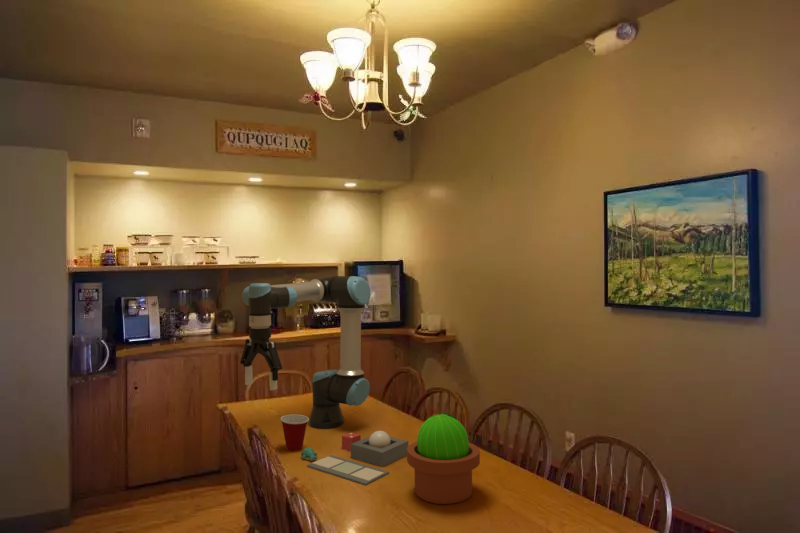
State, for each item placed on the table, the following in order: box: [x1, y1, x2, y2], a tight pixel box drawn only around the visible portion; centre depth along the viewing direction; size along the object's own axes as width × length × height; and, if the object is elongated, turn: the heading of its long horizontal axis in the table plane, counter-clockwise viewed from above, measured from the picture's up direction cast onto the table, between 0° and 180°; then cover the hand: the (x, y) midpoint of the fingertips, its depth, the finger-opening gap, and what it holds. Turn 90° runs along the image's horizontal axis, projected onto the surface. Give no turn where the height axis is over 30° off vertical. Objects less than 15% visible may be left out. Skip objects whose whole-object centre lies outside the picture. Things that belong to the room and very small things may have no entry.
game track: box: [306, 454, 390, 486], centre depth 194 cm, size 12×27×1 cm, turn 53°
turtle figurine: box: [301, 447, 318, 462], centre depth 205 cm, size 6×7×4 cm
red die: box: [341, 432, 362, 452], centre depth 216 cm, size 5×5×5 cm
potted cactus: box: [406, 411, 481, 505], centre depth 175 cm, size 22×22×25 cm
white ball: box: [369, 430, 391, 449], centre depth 207 cm, size 8×8×8 cm
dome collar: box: [350, 435, 409, 467], centre depth 207 cm, size 15×15×5 cm
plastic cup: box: [280, 413, 310, 452], centre depth 216 cm, size 11×11×12 cm
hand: (261, 387), depth 200 cm, fingers open, 13 cm apart
